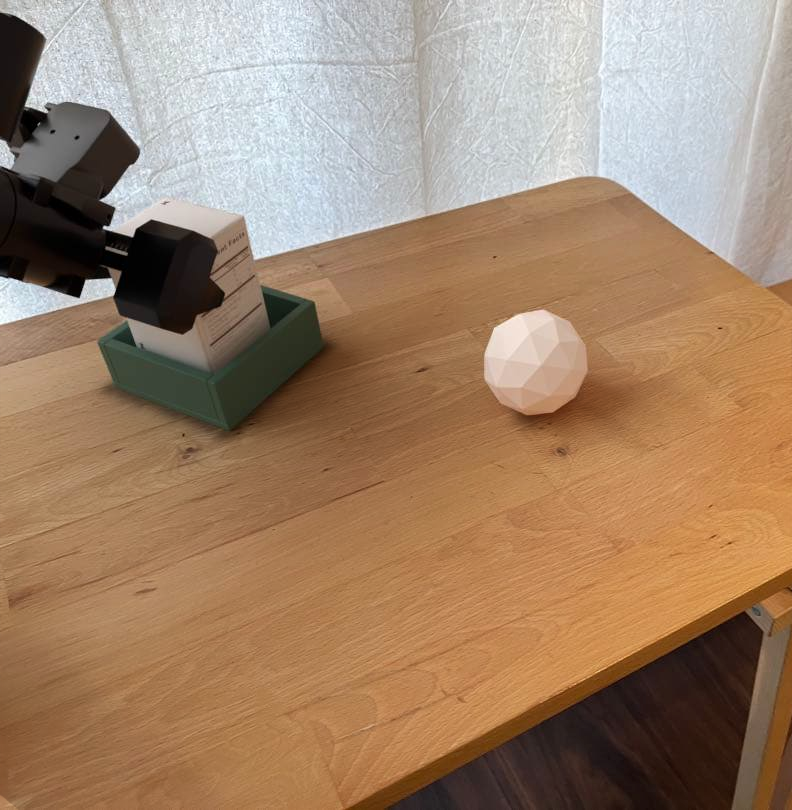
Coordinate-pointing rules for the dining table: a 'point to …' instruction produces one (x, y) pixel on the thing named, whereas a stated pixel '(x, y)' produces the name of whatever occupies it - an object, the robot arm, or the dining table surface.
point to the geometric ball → (535, 362)
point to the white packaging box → (232, 271)
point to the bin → (237, 381)
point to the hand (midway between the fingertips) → (171, 284)
